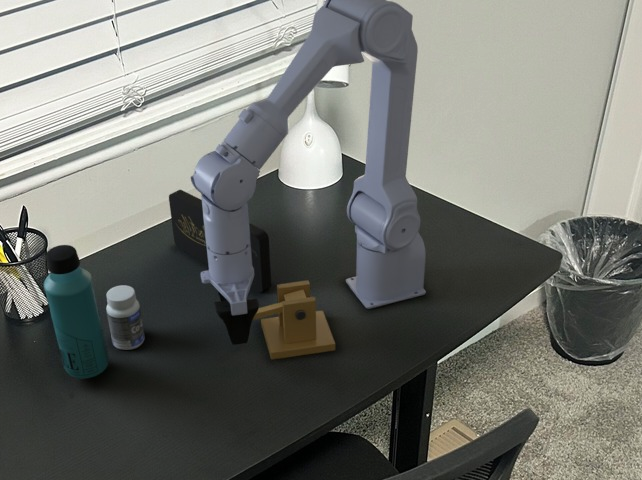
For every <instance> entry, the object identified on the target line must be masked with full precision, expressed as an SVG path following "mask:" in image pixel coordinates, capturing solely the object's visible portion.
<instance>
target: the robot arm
mask: <svg viewBox="0 0 642 480" xmlns="http://www.w3.org/2000/svg"><path fill="white" fill-rule="evenodd" d="M413 19H414V17H413V14H412V13H411V12H409V11H408V10H407V9H405V7H403V6H402V5H400V3H397V2H396V1H395V2H394V1H391V0H325V1H324V3H323V5H322V6H320V7H319V8H318V10H317V11H316V12H315V13H314V17H313V19H312V24H311V29H310V32H309V35H308V36H307V37H306V39H305V41H304V42H303V44H302V45H301V47H300V48H299V49H298V51H297V53H296V54H295V56H294V57H293V58H292V59H291V62H290V63H289V65H288V66H287V68H286V69H285V71H284V72H283V73H282V75H281V77H280V78H279V80H278V81H277V83H276V85H274V87H273V89H272V90H271V92H270V94H268V96H267V98H266V99H262V100H258V101H254V102H251V103H250V104H249V105H248V107H247V108H243V109H242V111H241V112H240V113H239V114H238V117H237V118H238V120H237V121H236V122H235V124H234V125H233V127H232V128H231V129H230V130H229V132H228V133H227V134H226V136H225V137H224V139H223V140H222V141H221V142H220V143H219V144H218V145H217V146H216V148H214V150H213V151H209V152H208V153H206V154H204V155H203V156H202V157H200V159H199V160H198V161H197V162H196V165H195V168H194V171H193V175H191V176H190V181H191V184H192V186H193V187H194V189H195V190H196V191H197V192H199V194H200V196H201V197H200V199H201V200H202V207H203V218H204V227H205V237H206V246H207V255H208V264H207V265H208V267H207V268H206V270H203V271H200V280H201V283H202V284H211V285H212V287H214V288H215V289H216V290H217V293H218V296H219V300H218V301H214V308H215V311H216V314H217V316H218V317H219V318H220V319H221V320H222V322H223V323H224V326H225V328H226V331H227V334H228V338H229V341H230V343H231V344H232V346H235V345H236V346H237V345H242V344H243V345H244V344H248V341H249V337H250V334H251V333H250V332H251V327H252V322H253V321H254V320H253V318H254V316H255V314H256V313H257V312H258V309H259V308H260V303H259V300H258V298H251V299H248V295H249V292H250V291H251V290H250V289H251V288H250V287H251V284H252V281H253V278H254V268H253V266H252V256H251V243H250V229H249V223H250V218H249V216H250V215H249V204H248V202H249V201H250V200H251V199H252V198H253V196H254V194H255V192H256V189H257V180H258V178H259V177H260V173H261V171H260V170H261V169H262V168H263V167H264V165H265V164H266V163H267V162H268V160H269V159H270V158H271V156H273V154H274V153H275V151H276V150H277V148H278V147H279V146H280V144H281V143H282V142H283V141H284V139H285V138H286V137H287V136H288V134H289V131H290V130H289V118H290V116H291V115H292V114H293V113H294V112H295V111H296V110H297V109H298V108H299V106H300V105H301V104H302V103H303V102H304V101H305V99H306V98H307V97H308V96H309V95H310V93H312V91H314V89H316V87H317V86H318V85H319V84H320V82H321V81H322V80H323V79H324V78H325V76H326V75H327V74H329V72H330V71H331V70H332V69H333V68H335V67H339V66H340V67H341V66H347V65H357V64H361V63H364V62H365V59H364V57H365V58H366V59H368V60H369V61H370V62H371V77H370V90H369V91H370V92H369V104H368V105H369V106H368V107H369V108H368V121H367V122H368V123H367V136H366V137H367V138H366V151H365V152H366V153H365V168H364V174H363V175H361V176H359V177H358V178H356V179H355V180H354V181H353V190H352V194H351V196H350V198H349V200H348V201H347V204H346V205H347V206H346V216H347V218H348V220H349V221H350V222H351V223H352V224H353V225H354V233H355V234H356V260H355V261H356V263H355V264H356V266H355V268H356V269H355V271H356V272H355V276H352V277H347V278H346V279H345V283H346V284H347V286H348V287H349V288H350V290H351V291H352V292H353V294H354V295H355V296H356V298H357V299H358V300H359V302H361V304H362V305H363V306H364V308H365V309H367V310H371V309H374V308H379V307H382V306H386V305H390V304H393V303H398V302H401V301H406V300H409V299H410V300H411V299H413V298H417V297H421V296H424V295H426V294H427V291H426V290H425V288H424V286H425V272H426V259H427V258H426V257H427V255H426V253H427V252H426V247H425V242H424V240H423V238H422V236H421V234H420V232H419V231H420V227H421V216H420V214H419V210H418V197H417V195H416V193H415V191H414V190H413V188H412V186H411V184H410V182H409V181H408V179H407V167H408V156H409V145H410V136H411V125H412V116H413V105H414V94H415V84H416V75H417V74H416V73H417V63H418V53H419V51H418V50H419V49H418V47H419V46H418V42H417V40H416V38H415V34H414V31H413Z"/></svg>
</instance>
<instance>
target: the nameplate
mask: <svg viewBox="0 0 642 480" xmlns="http://www.w3.org/2000/svg"><path fill="white" fill-rule="evenodd" d="M168 201H169V202H168V203H169V210H170V219H171V226H172V234H173V242H174V244H175V246H176V247H177V249H179V250H181V251H182V252H184V253H187V254H188V255H189V256H191V257H193V258H196V259H197V260H199V261H200V262H203V263H204V264H206V265H208V255H207V246H206V237H205V227H204V218H203V207H202V198H199V197H198V196H195V195H193V194H191V193H189V192H186V191H184V190H182V189H177V190H176V191H174V192H171V193H169V195H168ZM249 229H250V243H251V256H252V266H253V268H254V278H253V281H252V284H251V287H250V289H251V290H252V291H255V292H257V293H262V292H264V291H266V290H268V288H270V287H271V286H272V271H271V253H270V237H269V235H268V233H267V231H266V230H265V229H263V228H260V227H258V226H256V225H254V224H252V223H250V222H249Z"/></svg>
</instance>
